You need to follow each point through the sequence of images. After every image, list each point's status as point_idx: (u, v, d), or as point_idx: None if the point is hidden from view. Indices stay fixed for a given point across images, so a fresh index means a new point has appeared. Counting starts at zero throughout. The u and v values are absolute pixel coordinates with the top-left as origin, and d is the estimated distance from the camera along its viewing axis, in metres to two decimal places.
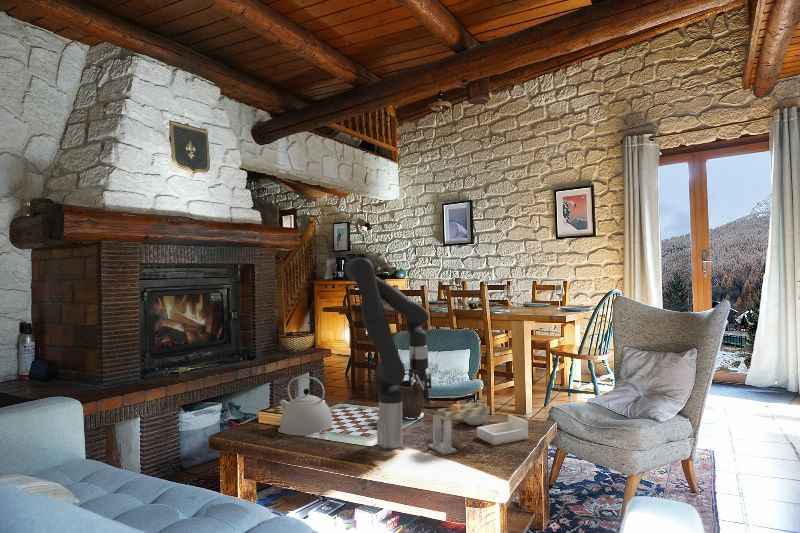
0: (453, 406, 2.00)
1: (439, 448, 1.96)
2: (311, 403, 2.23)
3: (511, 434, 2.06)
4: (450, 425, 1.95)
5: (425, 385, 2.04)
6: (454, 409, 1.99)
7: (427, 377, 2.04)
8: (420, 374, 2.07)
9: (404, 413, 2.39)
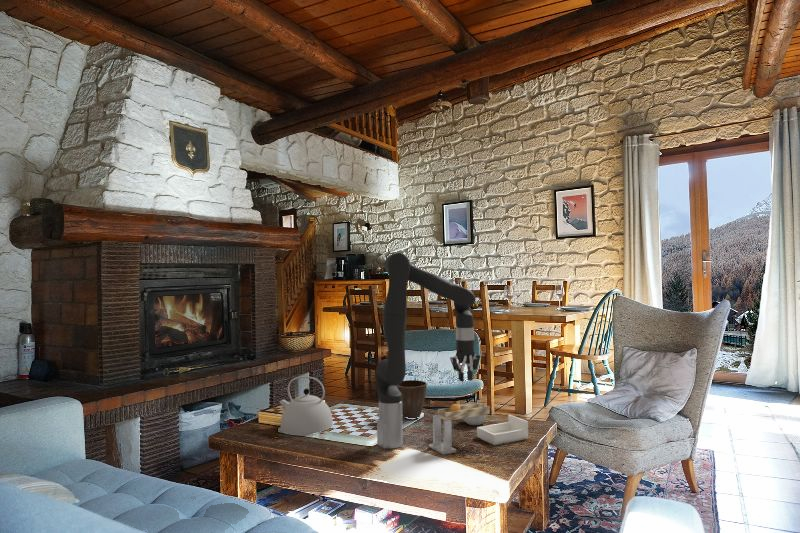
0: (453, 406, 2.00)
1: (439, 448, 1.96)
2: (311, 403, 2.23)
3: (511, 434, 2.06)
4: (450, 425, 1.95)
5: (476, 365, 2.13)
6: (454, 409, 1.99)
7: None
8: (472, 356, 2.13)
9: (404, 413, 2.39)
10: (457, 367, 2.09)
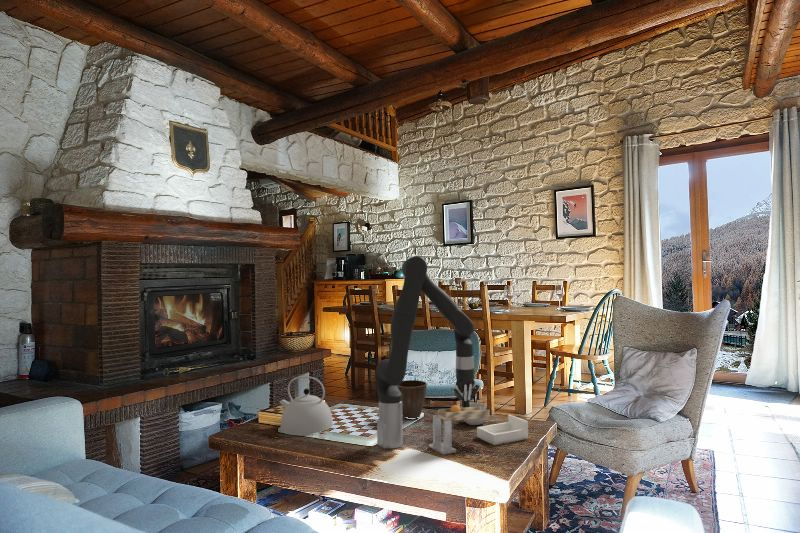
0: (453, 407, 2.00)
1: (439, 448, 1.96)
2: (311, 403, 2.23)
3: (511, 434, 2.06)
4: (450, 425, 1.95)
5: (473, 395, 2.13)
6: (454, 410, 1.99)
7: None
8: (472, 385, 2.13)
9: (404, 413, 2.39)
10: (460, 396, 2.10)
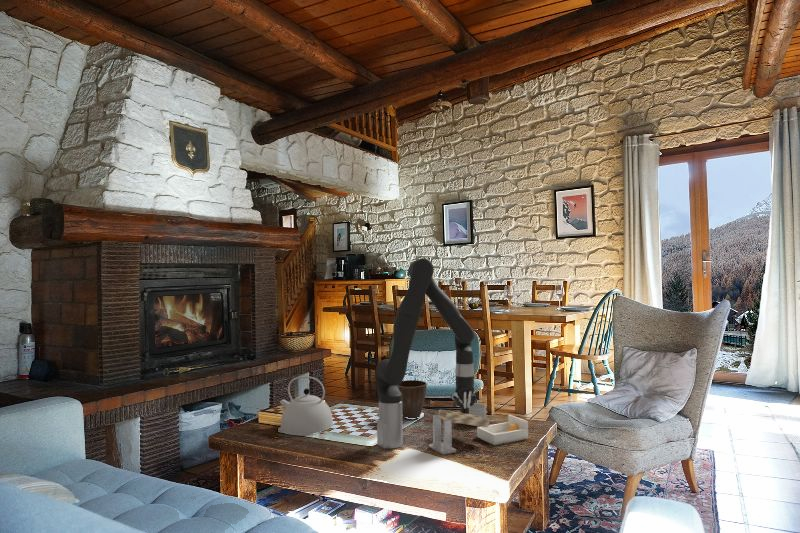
0: None
1: (439, 448, 1.96)
2: (311, 403, 2.23)
3: (511, 434, 2.06)
4: (450, 425, 1.95)
5: (473, 402, 2.12)
6: None
7: None
8: (472, 393, 2.12)
9: (404, 413, 2.39)
10: (459, 404, 2.09)
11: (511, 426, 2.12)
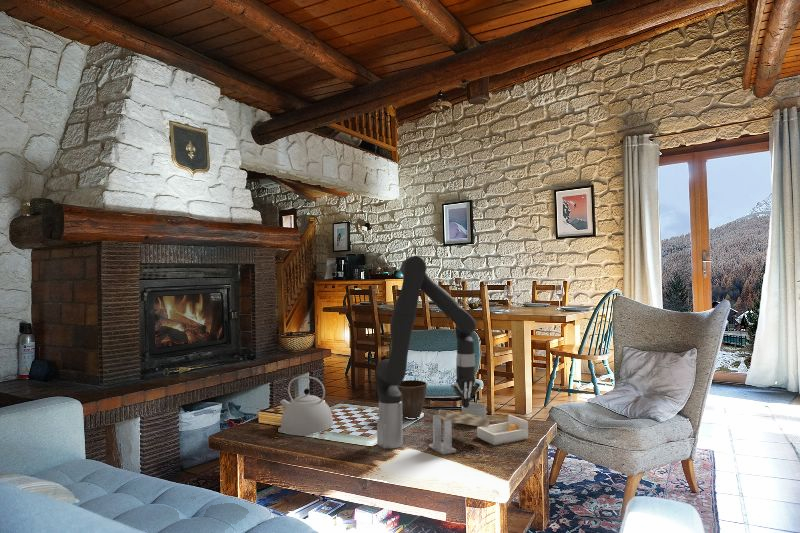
0: None
1: (439, 448, 1.96)
2: (311, 403, 2.23)
3: (511, 434, 2.06)
4: (450, 425, 1.95)
5: (473, 393, 2.12)
6: (517, 428, 2.13)
7: None
8: (472, 383, 2.12)
9: (404, 413, 2.39)
10: (460, 394, 2.09)
11: (510, 427, 2.12)
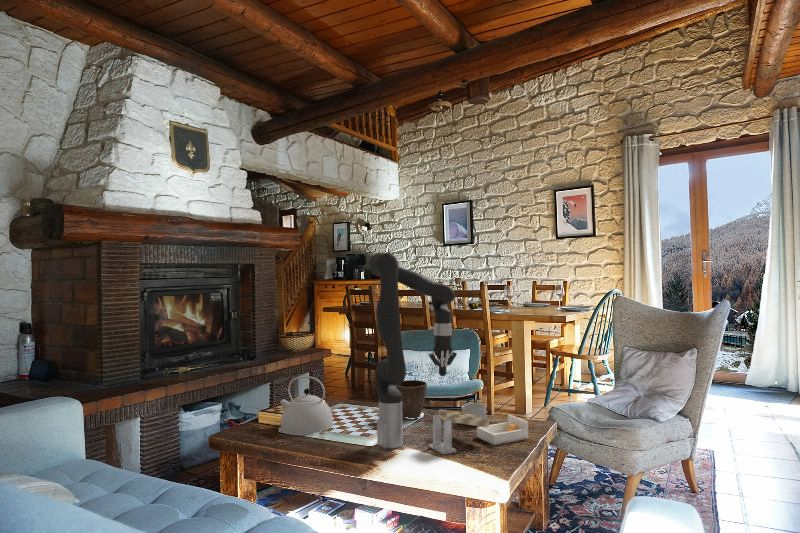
0: None
1: (439, 448, 1.96)
2: (311, 403, 2.24)
3: (511, 434, 2.06)
4: (450, 425, 1.95)
5: (450, 362, 2.17)
6: (516, 428, 2.12)
7: None
8: (449, 352, 2.17)
9: (404, 413, 2.39)
10: (437, 362, 2.14)
11: (509, 427, 2.12)
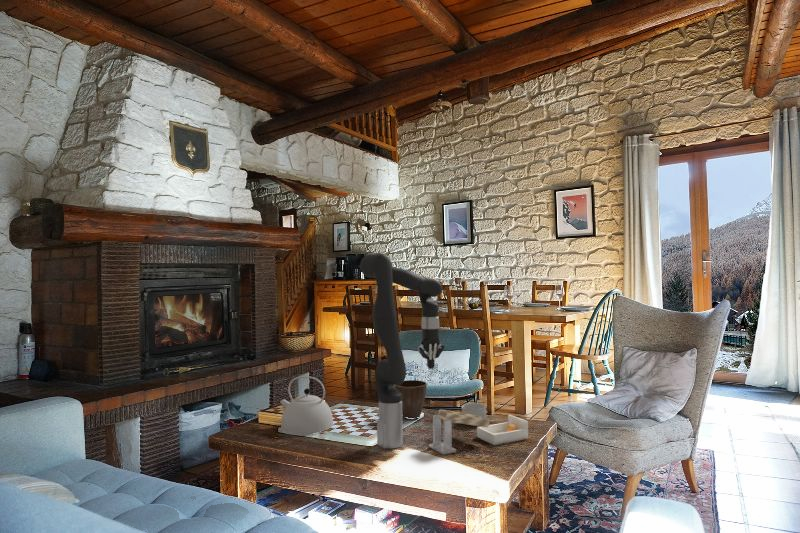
0: None
1: (439, 448, 1.96)
2: (311, 403, 2.24)
3: (511, 434, 2.06)
4: (450, 425, 1.95)
5: (438, 354, 2.20)
6: (515, 427, 2.12)
7: None
8: (437, 345, 2.20)
9: (404, 413, 2.39)
10: (425, 355, 2.17)
11: (509, 428, 2.12)
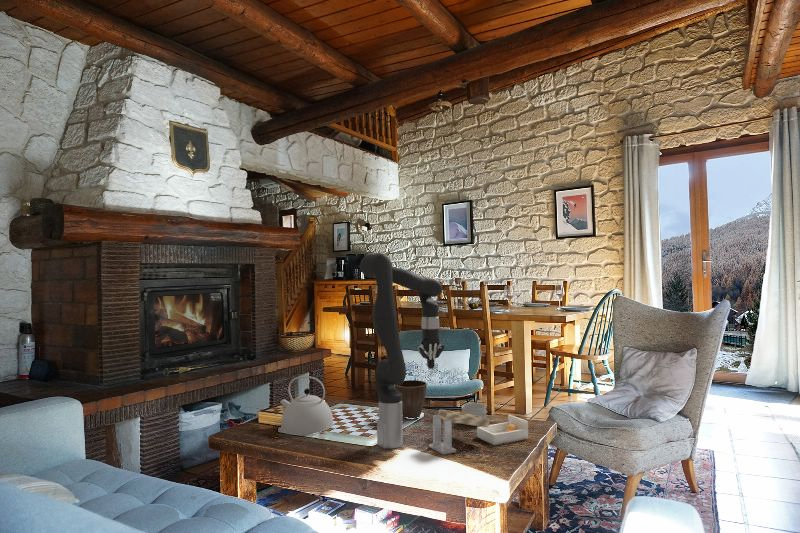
0: None
1: (439, 448, 1.96)
2: (311, 403, 2.24)
3: (511, 434, 2.06)
4: (450, 425, 1.95)
5: (438, 354, 2.20)
6: (515, 427, 2.12)
7: None
8: (437, 345, 2.20)
9: (404, 413, 2.39)
10: (425, 355, 2.17)
11: (508, 429, 2.12)
